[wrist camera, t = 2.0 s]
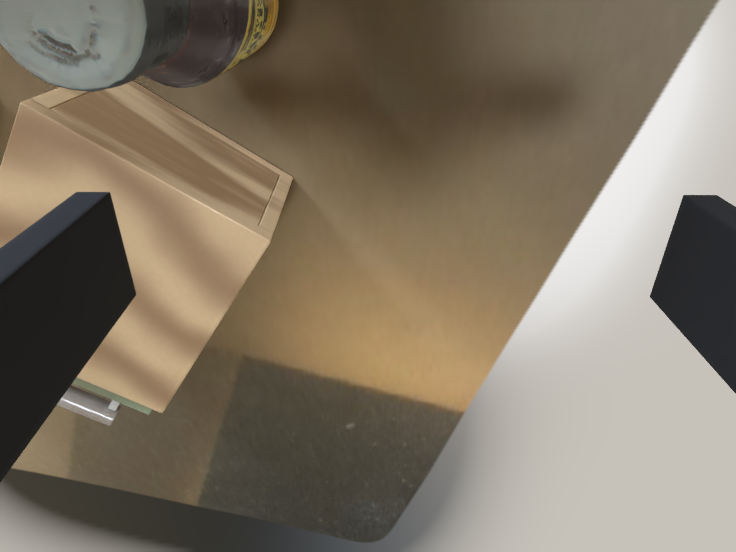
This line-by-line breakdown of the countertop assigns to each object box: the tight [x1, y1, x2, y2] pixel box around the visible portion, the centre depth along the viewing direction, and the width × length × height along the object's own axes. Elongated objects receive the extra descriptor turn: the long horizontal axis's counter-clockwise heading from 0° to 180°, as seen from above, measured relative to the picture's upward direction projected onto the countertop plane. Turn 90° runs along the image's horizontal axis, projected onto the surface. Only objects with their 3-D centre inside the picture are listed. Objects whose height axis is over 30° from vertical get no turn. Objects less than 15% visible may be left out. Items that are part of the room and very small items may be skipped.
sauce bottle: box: [0, 0, 279, 92], centre depth 21 cm, size 6×6×20 cm
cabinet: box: [0, 81, 293, 413], centre depth 32 cm, size 15×13×10 cm
